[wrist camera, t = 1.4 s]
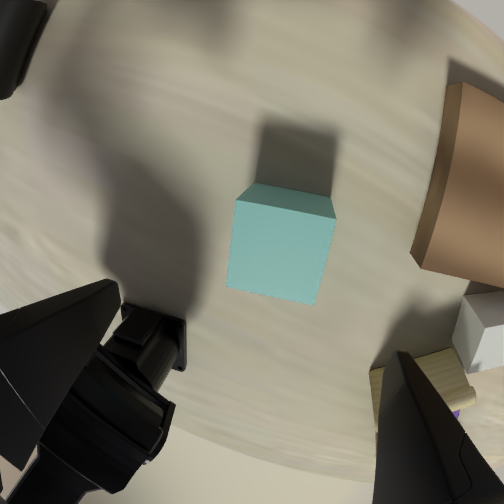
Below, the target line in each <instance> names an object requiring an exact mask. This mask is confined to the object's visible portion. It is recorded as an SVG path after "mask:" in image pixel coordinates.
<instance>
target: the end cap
mask: <svg viewBox="0 0 504 504" xmlns="http://www.w3.org/2000/svg"><path fill="white" fill-rule="evenodd" d="M46 7H47V4H46V3H43V2H40V1H35V0H0V100H4V99H7V98H9V97H11V96H12V94H13V91H15V89H16V86H17V83H18V80H19V77H20V74H21V71H22V68H23V65H24V62H25V59H26V57H27V54H28V51H29V49H30V46H31V44H32V41H33V39H34V37H35V34H36V32H37V30H38V28H39V25H40V23H41V21H42V19H43V17H44V15H45V13H46V11H47V9H46Z"/></svg>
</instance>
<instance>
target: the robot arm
mask: <svg viewBox="0 0 504 504" xmlns="http://www.w3.org/2000/svg"><path fill="white" fill-rule="evenodd" d="M120 305H121V298H120V293H119V287H118V284H117V282H116V281H113V280H110V279H103V280H100V281H97V282H94V283H91V284H88V285H85V286H82V287H79V288H76V289H73V290H70V291H67V292H64V293H61V294H59V295H56V296H53V297H50V298H47V299H44V300H41V301H38V302H35V303H32V304H30V305H27V306H24V307H21V308H20V309H19V308H18V309H15V310H12V311H9V312H6V313H3V314H1V315H0V455H1V456H2V457H3V458H5V459H6V460H7V461H8V462H10V463H11V464H12V465H13V466H15V467H16V468H18V469H19V470H20V471H22V470H23V469H24V468H25V466H26V464H27V462H28V460H29V458H30V456H31V454H32V452H33V450H34V448H35V447H36V445H37V453H38V454H37V455H36V457H35V458H34V459H33V461H32V462H31V464H30V465H29V466H28V468H27V469H26V471H25V472H24V473H23V475H22V476H21V478H20V479H19V481H18V482H17V483H16V485H15V486H14V488H13V489H12V490H11V492H10V493H9V495H8V496H7V498H6V499H5V500H4V499H3V498H2V497H1V496H0V504H78V503H79V501H80V500H81V499H82V497H83V496H84V495H85V494H86V493H87V492H92V491H96V490H100V489H103V490H105V491H106V492H108V493H110V494H114V493H116V492H119V491H121V490H123V489H124V488H125V487H126V485H127V484H128V482H129V481H130V479H131V478H132V476H133V475H134V473H135V472H136V471H137V470H138V469H139V467H140V466H141V465H142V464H143V465H145V464H147V463H149V462H151V461H152V460H153V459H154V458H155V457H156V456H157V455H158V453H159V452H160V451H161V449H162V447H163V446H164V443H165V441H166V439H167V436H168V432H169V428H170V425H171V421H172V417H173V414H174V410H175V406H176V404H174V403H173V402H171V401H168V400H167V399H166V398H164V397H163V396H162V395H160V394H159V393H158V391H159V389H160V387H161V385H162V384H163V382H164V380H165V378H166V377H167V375H168V373H169V372H170V370H171V369H174V370H177V371H181V372H183V371H185V369H186V324H185V322H184V321H183V320H182V319H179V318H176V317H172V316H169V315H166V314H162V313H159V312H155V311H152V310H149V309H146V308H142V307H139V306H136V305H133V304H130V303H127V302H124V303H123V304H122V305H121V307H120ZM125 307H126V308H127V309H126V308H125ZM119 308H121V315H122V323H121V324H120V325H119V326H118V327H117V328H116V329H115V330H114V332H113V335H112V336H111V337H110V338H109V340H108V341H107V342H106V343H105V344H104V345H103V346H102V345H101V344H100V342H101V340H102V338H103V337H104V335H105V333H106V331H107V329H108V328H109V326H110V324H111V322H112V320H113V319H114V317H115V315H116V313H117V312H118V310H119ZM179 324H180V325H179ZM2 490H3V486H2V481H1V473H0V493H1V492H2ZM372 504H504V484H503V483H502V482H501V480H500V479H499V478H498V476H497V475H496V474H495V472H494V471H493V470H492V468H491V467H490V466H489V465H488V463H487V462H486V461H485V459H484V458H483V456H482V455H481V454H480V452H479V451H478V449H477V448H476V447H475V445H474V444H473V442H472V441H471V439H470V438H469V436H468V435H467V433H465V430H464V429H463V427H462V426H461V424H460V423H459V421H458V420H457V418H456V417H455V415H454V414H453V413H452V411H451V410H450V408H449V407H448V405H447V404H446V403H445V401H444V400H443V398H442V397H441V396H440V394H439V393H438V391H437V390H436V389H435V387H434V386H433V384H432V383H431V382H430V380H429V379H428V378H427V376H426V375H425V374H424V372H423V371H422V370H421V368H420V367H419V366H418V364H417V363H416V362H415V360H414V359H413V358H412V356H411V355H410V354H409V353H408V352H406V351H400V350H396V351H395V352H394V353H393V354H392V356H391V358H390V360H389V361H388V363H387V365H386V366H385V368H384V371H383V376H382V387H381V397H380V405H379V414H378V436H377V457H376V471H375V483H374V493H373V502H372Z"/></svg>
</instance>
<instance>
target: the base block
mask: <svg viewBox="0 0 504 504" xmlns="http://www.w3.org/2000/svg"><path fill="white" fill-rule="evenodd" d="M410 254H411V255H412V257H413V258H414V259H415V261H416V262H417V264H418V265H419V267H420V268H421V269H425V270H429V271H433V272H438V273H442V274H446V275H451V276H455V277H459V278H463V279H468V280H472V281H476V282H480V283H484V284H489V285H493V286H497V287H501V288H504V103H503V102H501V101H499V100H498V99H496V98H494V97H492V96H490V95H489V94H487V93H485V92H483V91H481V90H479V89H477V88H475V87H473V86H471V85H469V84H467V83H465V82H459V83H455V84H452V85H448V86H446V94H445V103H444V111H443V118H442V125H441V131H440V137H439V143H438V148H437V153H436V158H435V163H434V168H433V172H432V177H431V181H430V185H429V189H428V193H427V197H426V201H425V205H424V209H423V212H422V216H421V219H420V223H419V226H418V229H417V233H416V236H415V239H414V242H413V245H412V248H411V251H410Z"/></svg>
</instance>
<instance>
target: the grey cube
mask: <svg viewBox="0 0 504 504" xmlns="http://www.w3.org/2000/svg"><path fill="white" fill-rule="evenodd" d="M451 340H452V342H453V344H454V346H455V348H456V350H457V352H458V354H459V357H460V359H461V361H462V363H463V365H464V368H465V370H466V372H467V374H469V373H474V372H479V371H483V370H487V369H491V368H495V367H499V366H503V365H504V292H503V291H498V292H490V293H482V294H473V295H464V296H463V298H462V302H461V307H460V311H459V314H458V318H457V322H456V325H455V329H454V332H453V336H452V339H451Z"/></svg>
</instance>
